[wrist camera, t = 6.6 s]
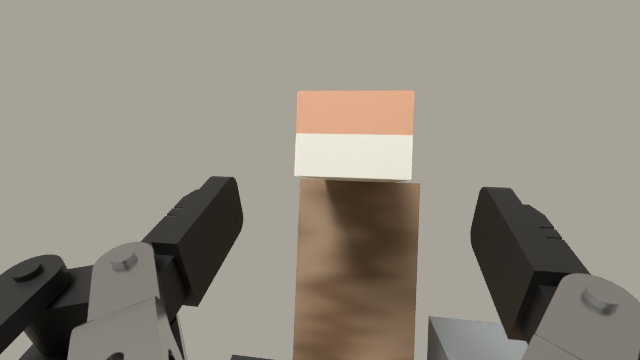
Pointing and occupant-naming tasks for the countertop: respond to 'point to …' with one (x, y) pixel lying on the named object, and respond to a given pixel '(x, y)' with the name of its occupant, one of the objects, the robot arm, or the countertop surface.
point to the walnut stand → (356, 270)
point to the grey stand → (471, 341)
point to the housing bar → (355, 135)
